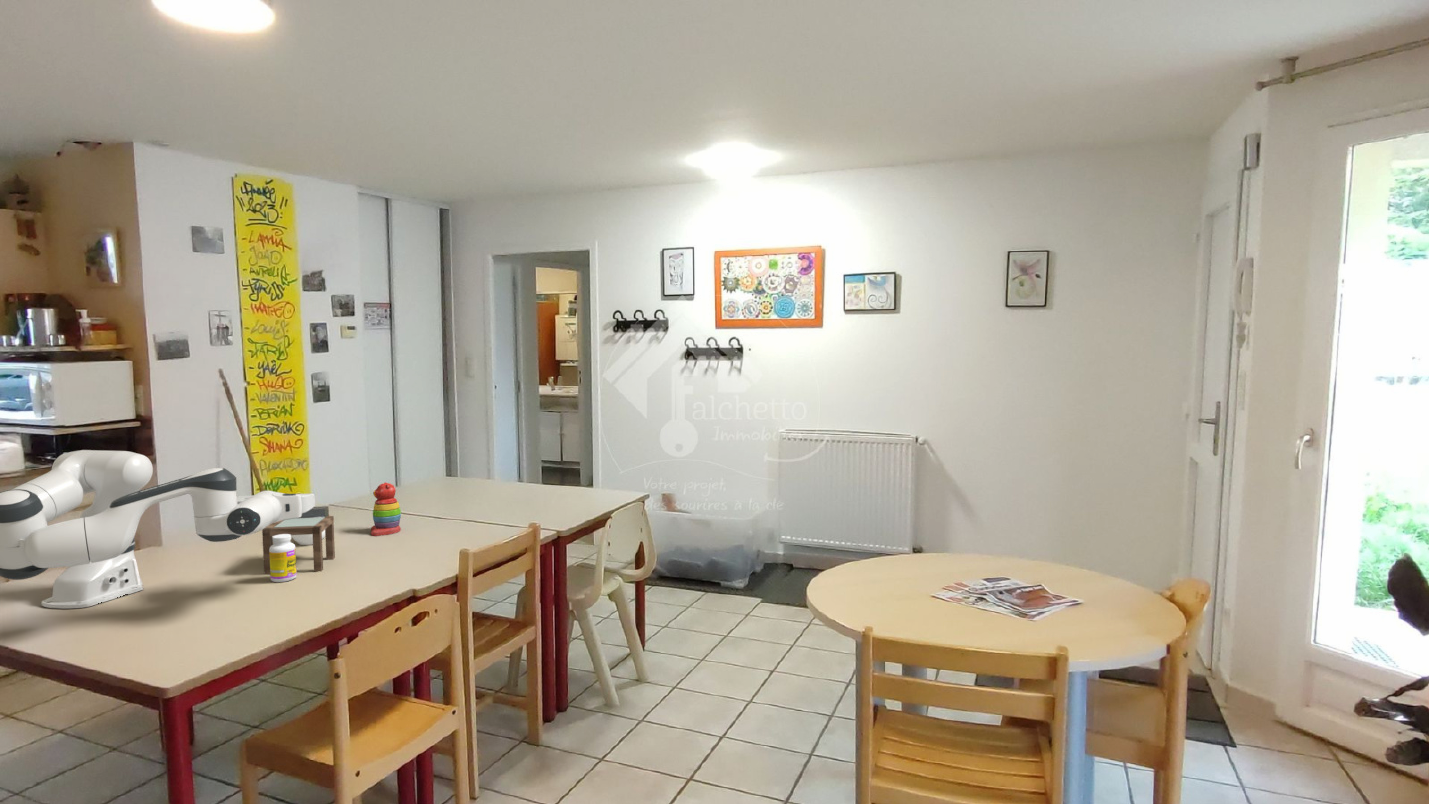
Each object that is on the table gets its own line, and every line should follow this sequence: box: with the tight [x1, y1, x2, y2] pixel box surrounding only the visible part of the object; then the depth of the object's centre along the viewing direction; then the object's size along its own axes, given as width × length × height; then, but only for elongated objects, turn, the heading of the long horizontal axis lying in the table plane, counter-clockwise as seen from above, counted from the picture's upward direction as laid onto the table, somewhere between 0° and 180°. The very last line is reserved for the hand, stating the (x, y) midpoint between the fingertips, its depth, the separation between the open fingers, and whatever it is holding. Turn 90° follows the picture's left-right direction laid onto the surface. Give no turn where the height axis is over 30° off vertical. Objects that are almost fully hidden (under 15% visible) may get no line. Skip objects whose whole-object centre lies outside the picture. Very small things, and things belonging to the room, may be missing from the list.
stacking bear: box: [370, 481, 402, 537], centre depth 275 cm, size 11×10×18 cm
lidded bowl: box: [291, 514, 331, 546], centre depth 260 cm, size 13×13×11 cm
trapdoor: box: [274, 505, 330, 528], centre depth 236 cm, size 16×11×6 cm
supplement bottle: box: [269, 534, 298, 583], centre depth 221 cm, size 7×7×13 cm
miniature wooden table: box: [261, 515, 336, 575], centre depth 234 cm, size 15×16×14 cm
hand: (283, 497), depth 220 cm, fingers open, 6 cm apart
